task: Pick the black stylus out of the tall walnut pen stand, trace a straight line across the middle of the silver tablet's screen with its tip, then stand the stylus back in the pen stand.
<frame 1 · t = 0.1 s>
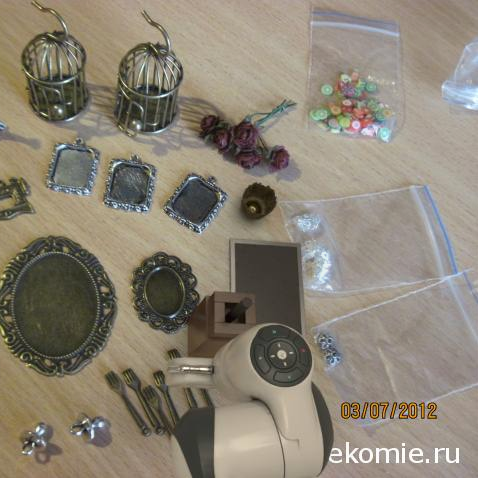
hand: (223, 380, 88), 24 cm above the table, tool pointing down, fingers open, 8 cm apart
cup: (250, 212, 125), on the table
stylus: (228, 319, 95), point 20 cm above the table, touching pen stand
tablet: (266, 290, 119), on the table
pen stand: (206, 338, 114), on the table
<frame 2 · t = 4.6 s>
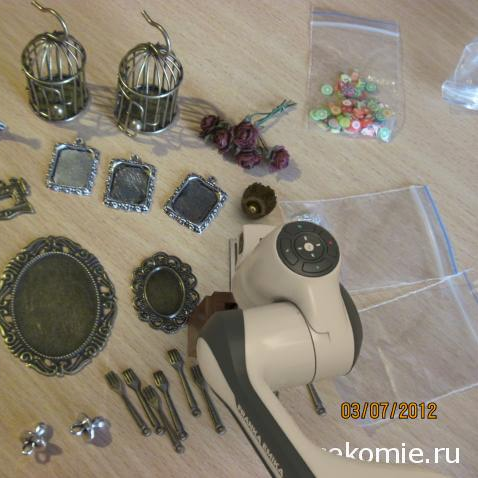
hand: (241, 307, 87), 29 cm above the table, tool pointing down, fingers closed on stylus, 1 cm apart
stylus: (228, 319, 95), point 20 cm above the table, touching gripper, pen stand
everything else where it was.
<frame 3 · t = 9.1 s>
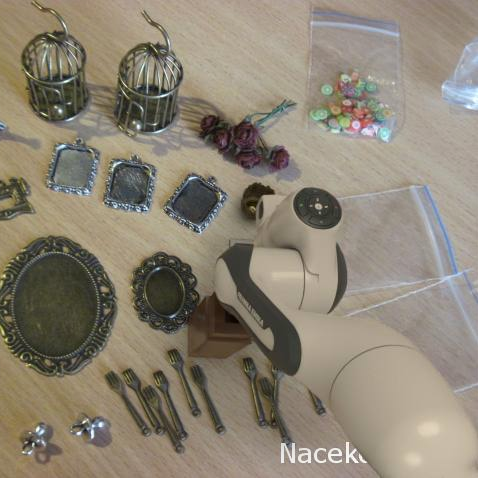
hand: (259, 266, 104), 16 cm above the table, tool pointing down, fingers closed on stylus, 1 cm apart
stylus: (246, 279, 112), point 7 cm above the table, touching gripper
everything else where it was.
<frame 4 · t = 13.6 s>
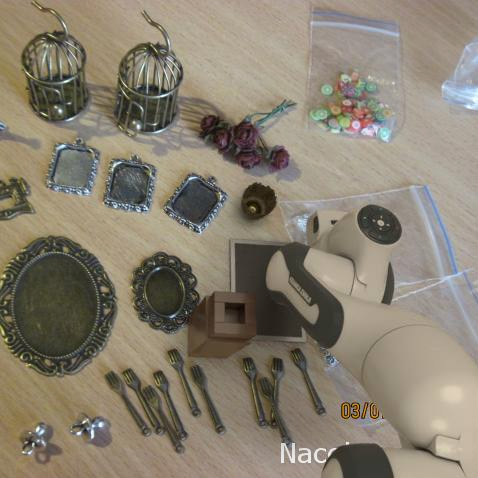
hand: (308, 277, 109), 11 cm above the table, tool pointing down, fingers closed on stylus, 1 cm apart
stylus: (293, 289, 117), point 2 cm above the table, touching gripper
everything else where it was.
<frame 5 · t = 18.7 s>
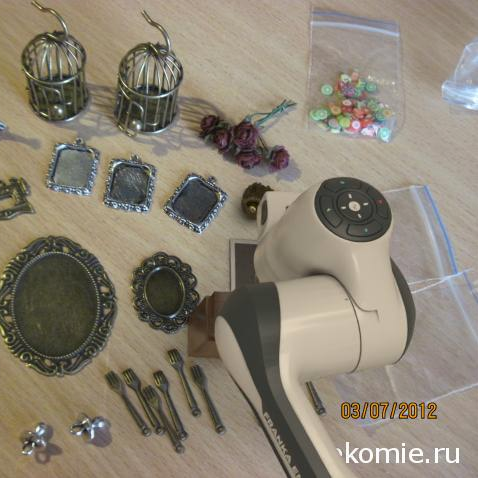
hand: (261, 290, 76), 40 cm above the table, tool pointing down, fingers closed on stylus
stylus: (244, 304, 85), point 31 cm above the table, touching gripper
everything else where it was.
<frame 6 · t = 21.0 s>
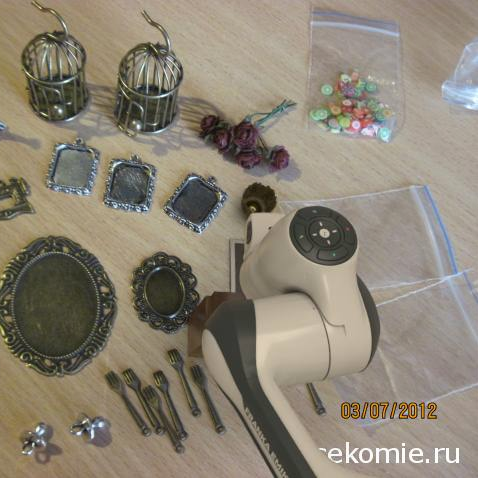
hand: (248, 301, 83), 33 cm above the table, tool pointing down, fingers closed on stylus
stylus: (234, 314, 91), point 24 cm above the table, touching gripper
everything else where it was.
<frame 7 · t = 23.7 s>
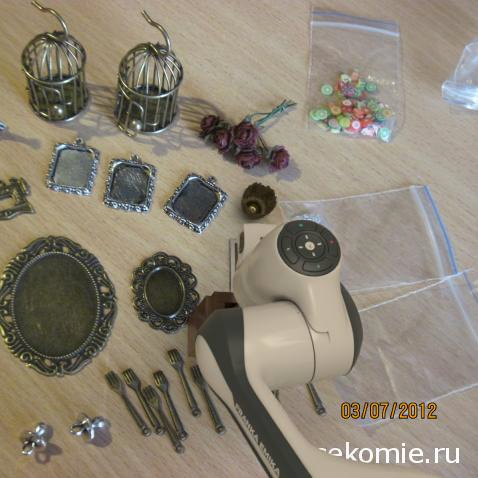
hand: (241, 306, 87), 29 cm above the table, tool pointing down, fingers open, 8 cm apart
stylus: (228, 319, 95), point 20 cm above the table, touching pen stand
everything else where it was.
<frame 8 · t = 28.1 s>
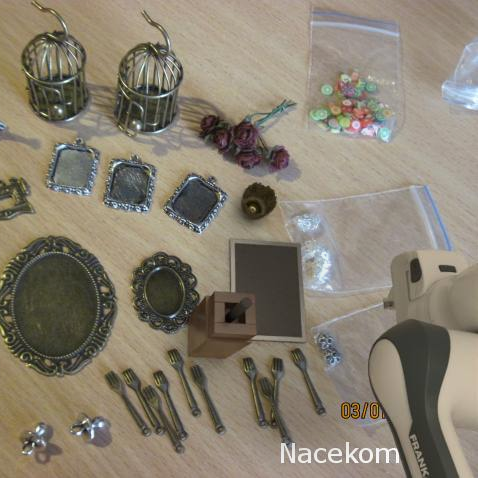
hand: (391, 337, 79), 37 cm above the table, tool pointing down, fingers open, 8 cm apart
nothing on the table moved.
at the end: stylus 0.0 cm off-centre on the pen stand, point 20.0 cm above the pen stand's base; stylus tilted 0°; stylus touching pen stand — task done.
